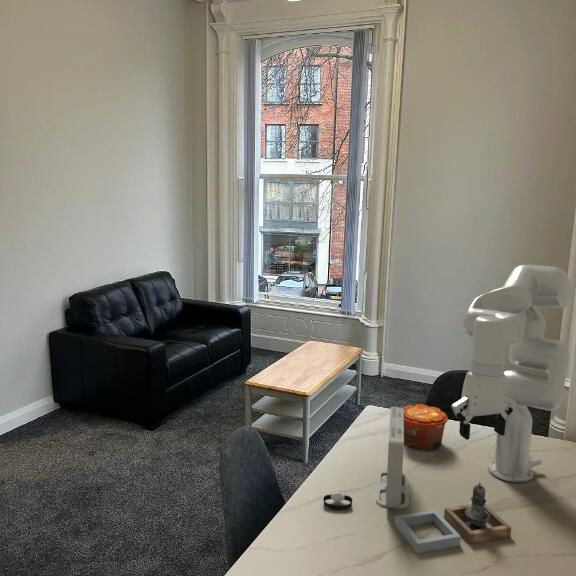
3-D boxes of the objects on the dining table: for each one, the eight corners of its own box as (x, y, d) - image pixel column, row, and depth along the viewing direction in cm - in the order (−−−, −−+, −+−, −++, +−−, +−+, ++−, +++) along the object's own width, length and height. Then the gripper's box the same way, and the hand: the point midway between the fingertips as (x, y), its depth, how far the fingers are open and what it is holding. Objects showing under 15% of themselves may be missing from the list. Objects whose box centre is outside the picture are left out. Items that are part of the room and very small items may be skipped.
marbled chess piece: (460, 520, 141) (463, 476, 139) (482, 519, 141) (486, 476, 139) (469, 534, 135) (473, 489, 133) (492, 533, 135) (496, 488, 133)
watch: (351, 502, 148) (352, 490, 148) (352, 512, 144) (353, 499, 143) (323, 501, 149) (323, 488, 148) (323, 510, 144) (323, 498, 144)
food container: (414, 428, 196) (416, 400, 194) (455, 443, 184) (457, 413, 183) (387, 441, 185) (388, 411, 184) (428, 458, 174) (430, 426, 172)
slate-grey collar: (435, 518, 141) (435, 509, 141) (460, 545, 130) (460, 536, 130) (394, 525, 138) (395, 516, 138) (417, 553, 127) (417, 543, 127)
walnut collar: (482, 511, 145) (482, 502, 144) (510, 536, 134) (511, 527, 134) (444, 517, 142) (444, 508, 141) (469, 544, 131) (470, 534, 131)
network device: (408, 517, 142) (412, 444, 138) (374, 512, 143) (377, 440, 140) (407, 469, 166) (411, 406, 163) (378, 466, 168) (381, 404, 165)
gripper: (508, 361, 137) (502, 425, 140) (446, 365, 133) (442, 432, 135) (528, 370, 130) (522, 438, 133) (464, 375, 125) (459, 445, 128)
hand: (481, 435), depth 134 cm, fingers open, 9 cm apart
